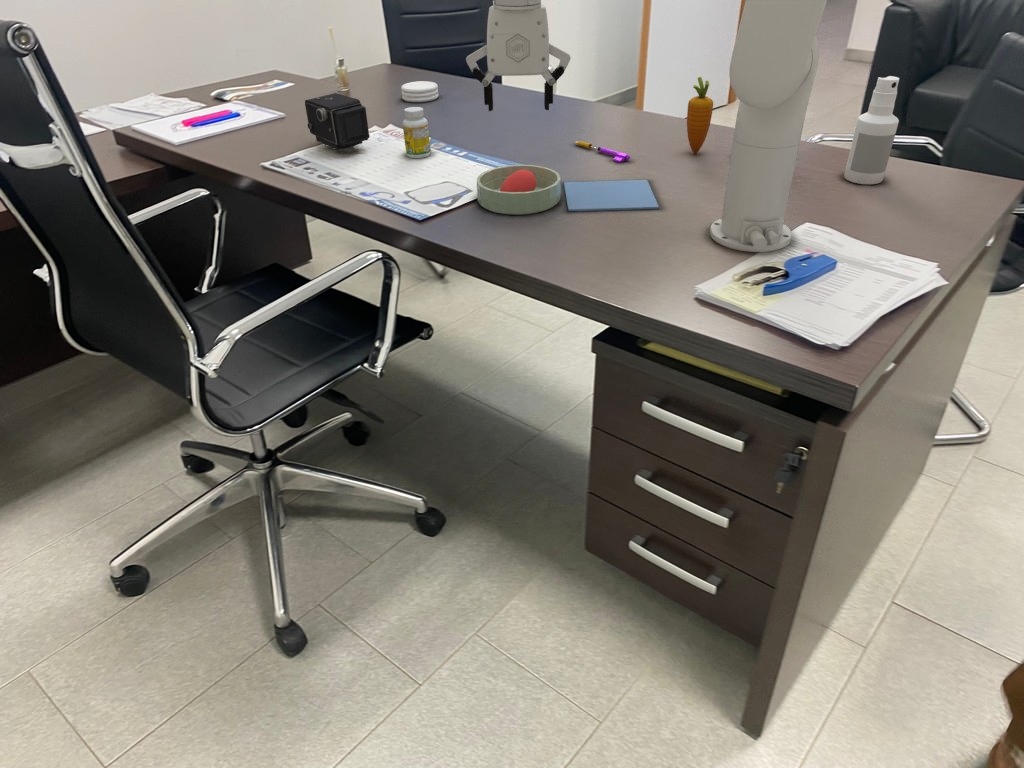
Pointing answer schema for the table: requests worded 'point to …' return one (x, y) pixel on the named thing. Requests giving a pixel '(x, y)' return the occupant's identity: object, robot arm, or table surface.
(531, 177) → the red oval piece
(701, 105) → the carrot
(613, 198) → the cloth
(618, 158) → the purple and gold rod
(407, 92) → the coaster
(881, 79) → the spray bottle
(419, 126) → the supplement bottle
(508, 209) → the bowl
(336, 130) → the camera
